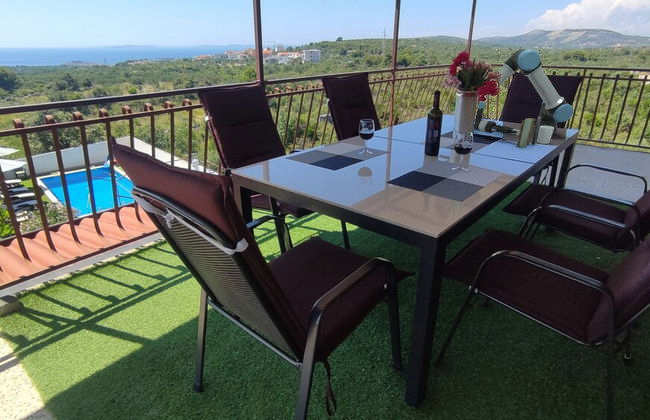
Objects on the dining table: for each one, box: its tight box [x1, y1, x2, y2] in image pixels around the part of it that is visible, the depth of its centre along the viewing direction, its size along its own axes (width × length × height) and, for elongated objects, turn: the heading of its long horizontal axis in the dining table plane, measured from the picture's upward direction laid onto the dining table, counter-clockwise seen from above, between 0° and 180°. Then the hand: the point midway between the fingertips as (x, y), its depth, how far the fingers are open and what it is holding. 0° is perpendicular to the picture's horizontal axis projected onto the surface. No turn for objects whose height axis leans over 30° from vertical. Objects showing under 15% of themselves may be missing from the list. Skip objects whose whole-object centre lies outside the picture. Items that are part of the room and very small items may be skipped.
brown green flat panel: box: [516, 118, 537, 147], centre depth 225 cm, size 12×1×15 cm, turn 122°
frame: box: [518, 115, 542, 149], centre depth 223 cm, size 16×2×17 cm, turn 124°
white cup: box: [536, 126, 554, 145], centre depth 232 cm, size 8×8×10 cm
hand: (522, 133), depth 226 cm, fingers closed
